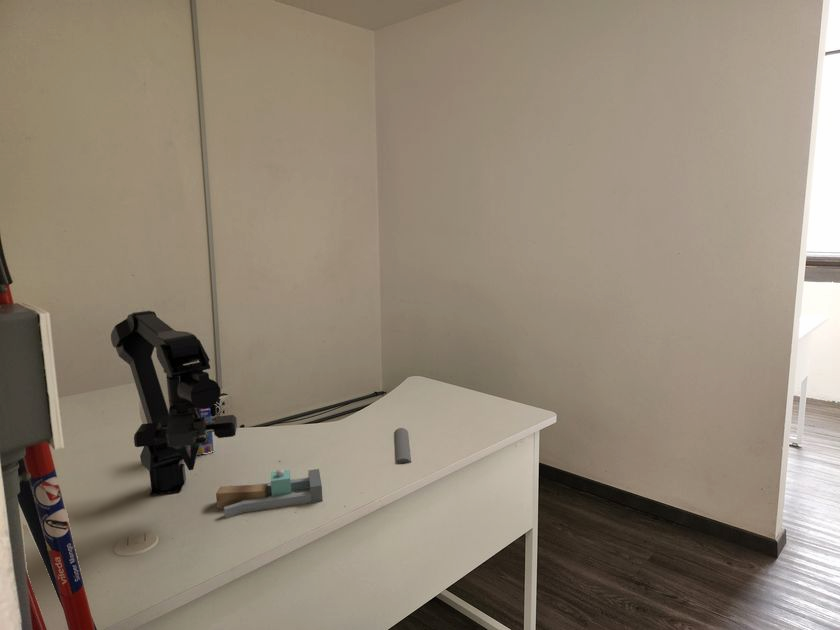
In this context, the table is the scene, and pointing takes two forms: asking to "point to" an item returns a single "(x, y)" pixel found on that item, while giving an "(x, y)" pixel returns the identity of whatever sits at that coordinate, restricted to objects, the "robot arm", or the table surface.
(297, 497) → the guide
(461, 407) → the table surface
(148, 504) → the table surface
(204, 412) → the ink cartridge box
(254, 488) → the batten
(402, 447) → the gray half cylinder
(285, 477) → the block
